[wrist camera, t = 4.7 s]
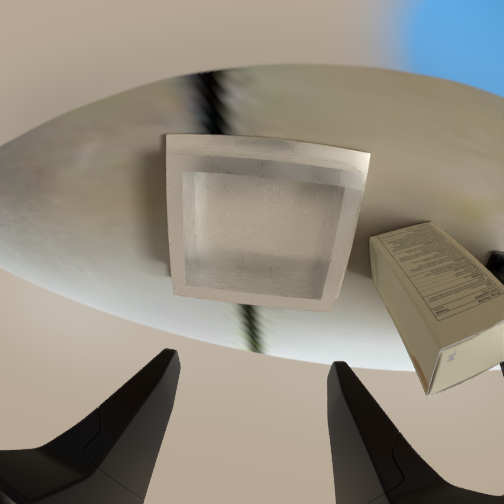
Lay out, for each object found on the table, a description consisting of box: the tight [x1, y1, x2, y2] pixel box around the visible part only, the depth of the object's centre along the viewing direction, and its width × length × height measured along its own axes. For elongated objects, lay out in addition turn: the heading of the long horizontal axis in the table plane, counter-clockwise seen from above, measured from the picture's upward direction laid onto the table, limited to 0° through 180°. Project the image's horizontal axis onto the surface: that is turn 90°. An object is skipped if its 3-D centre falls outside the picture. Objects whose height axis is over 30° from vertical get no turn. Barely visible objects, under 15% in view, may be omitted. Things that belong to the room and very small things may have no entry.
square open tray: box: [166, 134, 370, 312], centre depth 19 cm, size 14×12×4 cm
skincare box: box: [369, 222, 504, 397], centre depth 15 cm, size 6×4×12 cm
